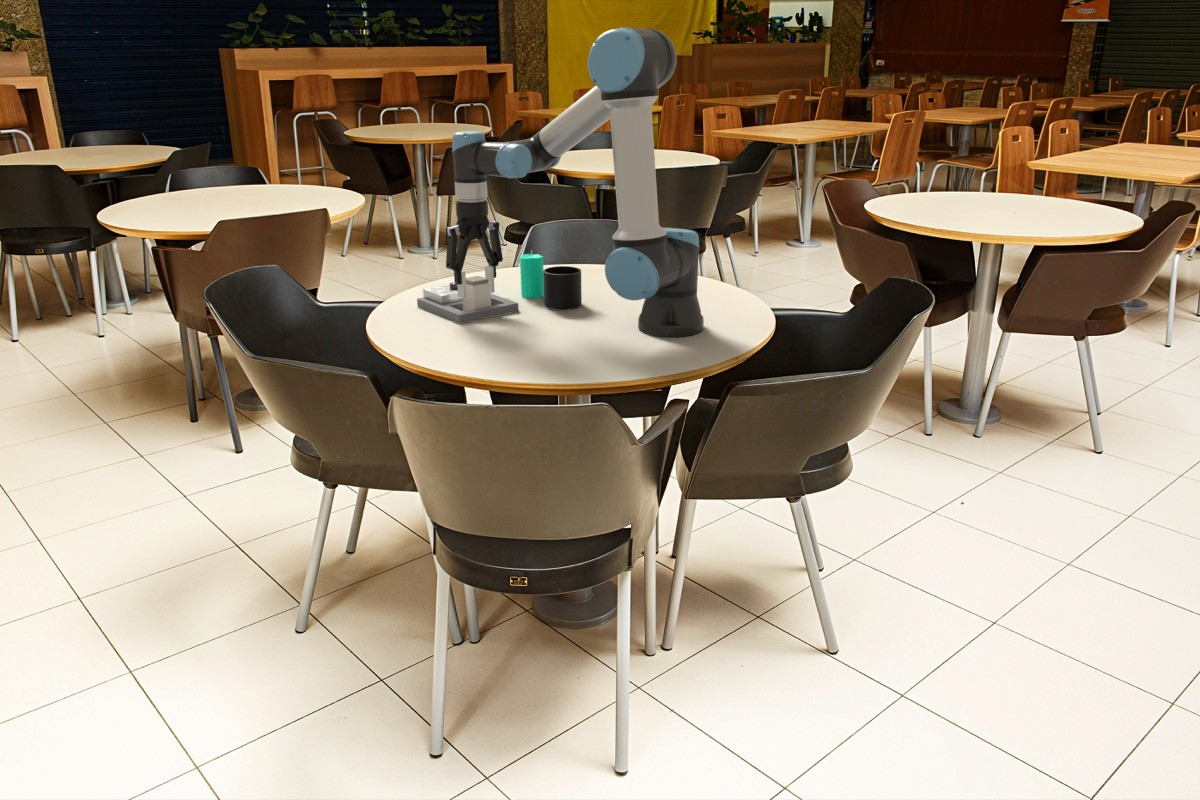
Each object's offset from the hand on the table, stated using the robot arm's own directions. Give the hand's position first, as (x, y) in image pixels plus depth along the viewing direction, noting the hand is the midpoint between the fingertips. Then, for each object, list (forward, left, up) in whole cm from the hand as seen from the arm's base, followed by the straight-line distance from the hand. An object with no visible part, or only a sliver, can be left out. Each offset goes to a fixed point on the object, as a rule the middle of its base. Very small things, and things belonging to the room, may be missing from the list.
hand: (476, 294), depth 227 cm
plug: (0, 0, -5) cm, 5 cm away
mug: (-7, -21, -5) cm, 23 cm away
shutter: (+10, 0, -3) cm, 11 cm away
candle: (+5, -20, -5) cm, 21 cm away
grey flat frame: (+5, 0, -5) cm, 6 cm away
